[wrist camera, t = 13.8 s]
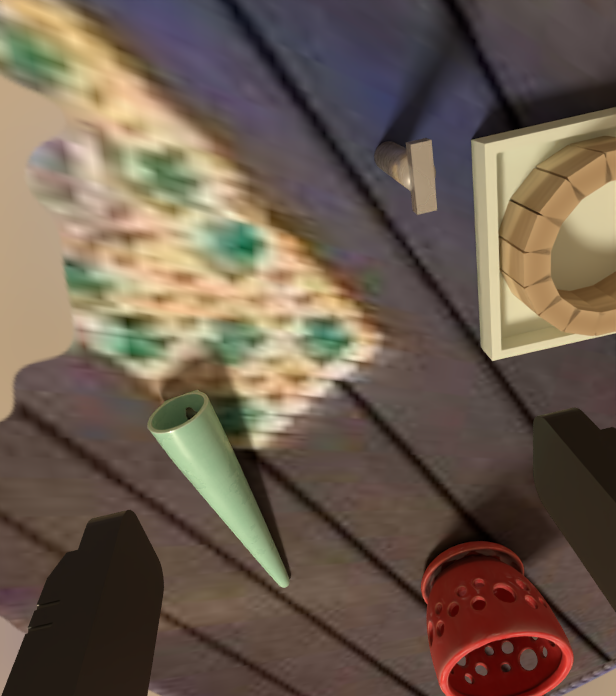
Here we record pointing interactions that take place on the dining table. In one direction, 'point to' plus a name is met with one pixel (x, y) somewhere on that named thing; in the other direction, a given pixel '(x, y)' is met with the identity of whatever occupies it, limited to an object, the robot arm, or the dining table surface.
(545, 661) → the plant pot
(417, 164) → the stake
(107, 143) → the dining table surface
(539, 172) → the wooden ring
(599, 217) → the tray
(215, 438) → the mint green cone
